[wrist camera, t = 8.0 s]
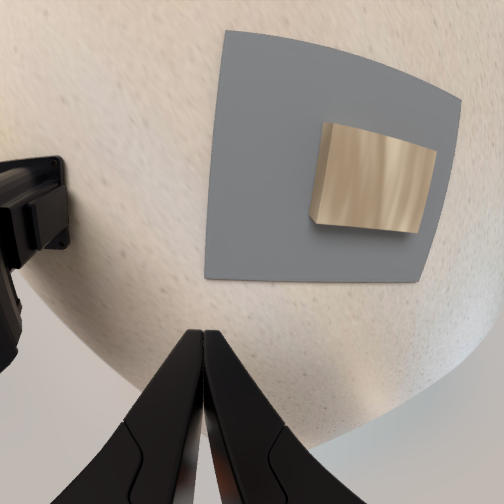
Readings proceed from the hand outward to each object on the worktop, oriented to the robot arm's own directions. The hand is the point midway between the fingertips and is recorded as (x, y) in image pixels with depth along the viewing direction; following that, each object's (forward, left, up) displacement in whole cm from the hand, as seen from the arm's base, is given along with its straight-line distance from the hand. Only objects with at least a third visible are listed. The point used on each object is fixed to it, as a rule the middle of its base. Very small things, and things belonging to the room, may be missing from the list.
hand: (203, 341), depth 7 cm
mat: (+9, +3, -12) cm, 15 cm away
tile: (+6, +3, -11) cm, 13 cm away
